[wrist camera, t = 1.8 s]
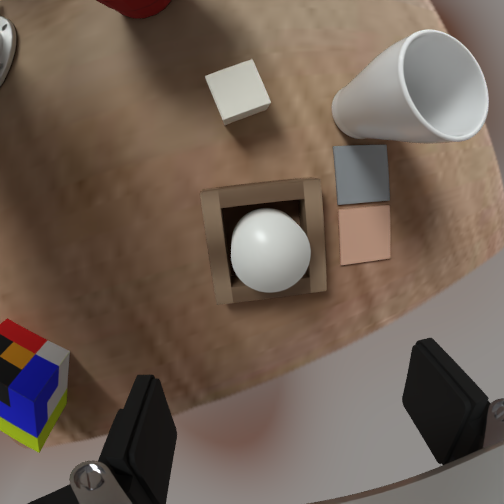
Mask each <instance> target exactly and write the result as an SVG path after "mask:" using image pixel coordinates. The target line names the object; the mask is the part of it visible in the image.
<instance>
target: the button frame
mask: <svg viewBox="0 0 504 504" xmlns="http://www.w3.org/2000/svg"><path fill="white" fill-rule="evenodd" d="M200 198H201V206H202V213H203V220H204V227H205V234H206V240H207V247H208V254H209V260H210V267H211V273H212V279H213V285H214V292H215V298H216V304H217V305H220V304H229V303H238V302H246V301H254V300H263V299H270V298H278V297H286V296H293V295H300V294H308V293H315V292H322V291H327V283H326V256H325V236H324V219H323V204H322V191H321V179H317V178H313V177H310V178H299V179H288V180H278V181H268V182H259V183H250V184H241V185H233V186H225V187H217V188H209V189H203V190H202V191H201V192H200ZM296 199H298V202H299V214H300V227H301V229H302V230H303V231H304V232H305V234H306V236H307V238H308V240H309V244H310V249H311V256H310V262H309V266H308V268H307V270H306V272H305V274H304V275H303V276H302V278H301V279H300V280H299V281H298V282H297V283H295V284H294V285H293V286H291V287H289V288H287V289H285V290H282V291H279V292H271V293H269V292H260V291H257V290H254V289H252V288H250V287H248V286H247V285H246V284H244V283H243V282H242V281H241V280H240V279H239V277H238V276H237V275H234V276H231V269H230V262H229V255H228V248H227V240H226V233H225V225H224V217H223V210H222V208H226V207H234V206H242V205H250V204H259V203H268V202H277V201H287V200H296Z"/></svg>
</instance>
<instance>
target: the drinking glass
mask: <svg viewBox="0 0 504 504" xmlns="http://www.w3.org/2000/svg"><path fill="white" fill-rule="evenodd" d="M488 105H489V99H488V89H487V85H486V81H485V78H484V75H483V73H482V70H481V68H480V66H479V64H478V63H477V61H476V59H475V58H474V56H473V55H472V54H471V53H470V52H469V50H468V49H467V48H466V47H465V46H464V45H463V44H462V43H461V42H459V41H458V40H457V39H455V38H454V37H452V36H450V35H448V34H446V33H444V32H441V31H437V30H421V31H418V32H415V33H413V34H412V35H409V36H407V37H405V38H403V39H402V40H400V41H398V42H396V43H394V44H393V45H391V46H390V47H388V48H387V49H385V50H384V51H383V52H381V53H380V54H379V55H378V56H377V57H375V58H374V59H373V60H372V61H371V62H370V63H369V64H368V65H367V66H366V67H365V68H364V69H363V70H362V71H361V72H360V73H359V74H358V75H357V76H356V77H355V78H354V79H353V80H352V81H350V82H349V83H348V84H347V85H346V86H345V87H343V88H342V89H340V90H339V91H338V92H337V94H336V95H335V97H334V99H333V102H332V115H333V119H334V121H335V123H336V125H337V126H338V127H339V129H340V130H341V131H342V132H344V133H345V134H346V135H348V136H350V137H353V138H356V139H368V138H371V139H383V140H392V141H401V142H409V143H424V144H430V143H449V142H460V141H465V140H468V139H470V138H472V137H473V136H475V135H476V134H477V133H478V132H479V131H480V129H481V128H482V126H483V124H484V122H485V120H486V117H487V113H488Z"/></svg>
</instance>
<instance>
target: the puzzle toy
mask: <svg viewBox="0 0 504 504" xmlns="http://www.w3.org/2000/svg"><path fill="white" fill-rule="evenodd" d="M69 357H70V351H69V350H66V349H64V348H62V347H60V346H58V345H56V344H54V343H52V342H50V341H48V340H46V339H44V338H42V337H40V336H38V335H36V334H34V333H33V332H31V331H29V330H27V329H25V328H23V327H22V326H20V325H18V324H16V323H14V322H13V321H11V320H9V319H6V320H5V321H4V322H2V323H1V324H0V430H1V431H2V432H4V433H5V434H7V435H9V436H10V437H12V438H14V439H15V440H17V441H19V442H21V443H22V444H24V445H26V446H28V447H30V448H31V449H33V450H35V451H37V452H40V451H41V449H42V447H43V445H44V443H45V441H46V440H47V438H48V436H49V434H50V432H51V430H52V429H53V427H54V425H55V423H56V421H57V420H58V418H59V416H60V414H61V413H62V411H63V409H64V407H65V406H66V404H67V383H68V369H69Z"/></svg>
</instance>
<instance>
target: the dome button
mask: <svg viewBox="0 0 504 504" xmlns="http://www.w3.org/2000/svg"><path fill="white" fill-rule="evenodd" d="M310 256H311V249H310V244H309V240H308V238H307V236H306V234H305V232H304V231H303V230H302V229H301V227H300V226H299V225H298V224H297V223H296V222H295V221H294V220H293V219H292V218H291V217H290V216H289V215H287V214H286V213H285V212H283V211H281V210H278V209H274V208H259V209H256V210H253V211H251V212H249V213H247V214H246V215H244V216H243V217H242V218H241V219H240V220H239V222H238V223H237V224H236V226H235V228H234V231H233V234H232V241H231V261H232V266H233V269H234V271H235V273H236V275H237V276H238V277H239V279H240V280H241V281H242V282H243V283H244V284H246V285H247V286H248V287H250V288H252V289H254V290H257V291H260V292H269V293H271V292H279V291H282V290H285V289H287V288H289V287H291V286H293V285H294V284H295V283H297V282H298V281H299V280H300V279H301V278H302V276H303V275H304V274H305V272H306V270H307V268H308V266H309V262H310Z"/></svg>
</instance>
